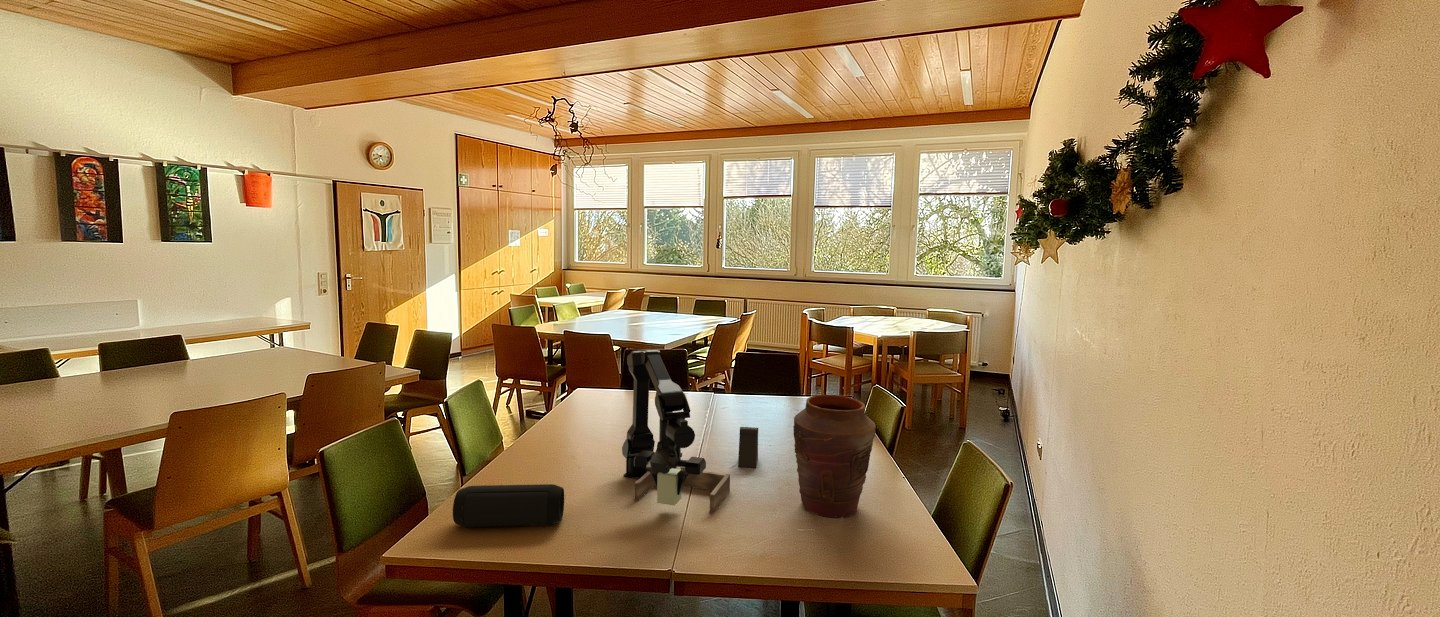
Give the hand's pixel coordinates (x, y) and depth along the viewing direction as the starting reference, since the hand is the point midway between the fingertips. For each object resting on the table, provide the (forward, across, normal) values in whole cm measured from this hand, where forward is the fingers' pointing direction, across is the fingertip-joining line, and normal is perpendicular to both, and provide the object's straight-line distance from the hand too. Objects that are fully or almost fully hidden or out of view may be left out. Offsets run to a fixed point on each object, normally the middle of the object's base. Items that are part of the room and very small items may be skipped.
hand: (669, 493), depth 159 cm
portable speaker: (+6, -35, -20) cm, 41 cm away
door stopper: (+5, +11, +43) cm, 45 cm away
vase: (+5, +41, +18) cm, 45 cm away
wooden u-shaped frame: (+5, 0, +10) cm, 12 cm away
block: (+2, 0, 0) cm, 2 cm away
